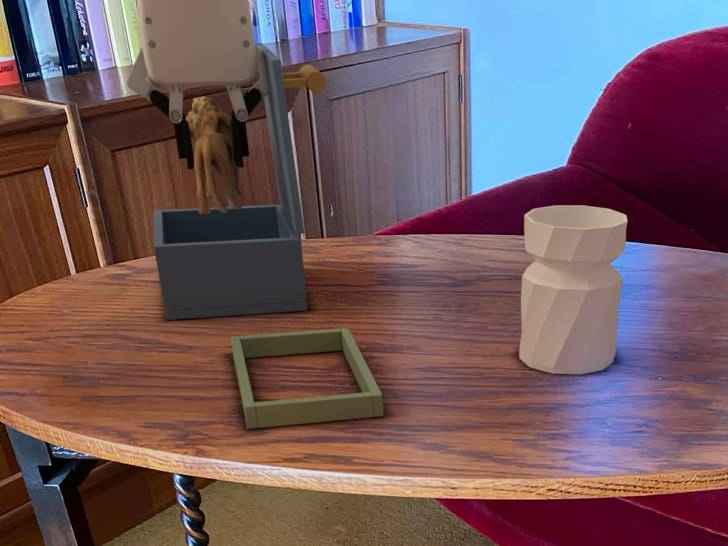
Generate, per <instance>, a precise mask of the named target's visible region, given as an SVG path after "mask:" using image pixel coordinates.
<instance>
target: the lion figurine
mask: <svg viewBox="0 0 728 546" xmlns="http://www.w3.org/2000/svg"><path fill="white" fill-rule="evenodd" d="M191 108H192V109H191V111H189V112H188V114H187V115H186V121H188V122H189V127H190V134H191V141H194V140H195V143H194V167H195V168H194V173H195V180H196V187H197V189H196V196H197V198H198V202H199V207H198V208H199V214H208V213H210V212H211V210H210V208H211V207H210V206H209V204H208V199H211V200H212V199H213V200H214V202H215V204H216V207H218V208H219V211H220V212H222V213H227V212H228V211H227V208H226V207H227V206H226V205H225V204H224V202H222V200H221V198H220V197H219V195H218V194H219V190H218V187H217V184H216V180H215V175H214V174H217V175H219V177H220V179H221V181H222V183H223V186H224V195H225V197H226V199H227V201H228V205H229V207H231V208H241V207H242V206H243V203H242V202H241V201H240V200H237V198H236V197H242V196H243V192H242V191H241V190H240V189H239V167H238V166H236V164H235V161H234V153H233V145H232V137H231V129H230V121H229V120H230V118H229V116H228V114H227V113H226V111H224V107H223V106H221V105H220V104H219V102H217V101H216V100H214V99H213V98H211V97H208V96H198V97H194V98H193V102H192V104H191Z"/></svg>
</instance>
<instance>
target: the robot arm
mask: <svg viewBox="0 0 728 546" xmlns="http://www.w3.org/2000/svg"><path fill="white" fill-rule="evenodd" d="M135 2H136V9H137V10H136V11H137V17H138V26H139V34H140V42H141V47H140V49H139V51H138V53H137V56H136V58H135V61H134V63H133V65H132V68H131V70H130V73H129V75H128V77H127V81H126V85H127V87H128V88H129V90H131V91H133V92H135V93H136V94H138V95H139V96H140V97H142V98H144V99H145V100H147V101H149V102H151V104H153V105H154V107H156V108H157V109H158V110H160V112H162V113H163V114H164V115H165V117H167V118H168V119H169V120H170V122H172V123H173V130H174V136H175V141H176V148H177V154H178V159H180V160H183V159H184V160H186V164H187V170H194V169H195V167H194V156H195V154H194V149H193V142H192V141H193V140H191V134H190V127H189V122H188V121H186V117H187V115H186V113H185V112H184V111H183V109H184V87H198V86H199V87H202V86H205V87H206V86H207V87H208V86H225V87H226V91H227V94H228V98H229V101H230V105H231V108H232V110H231V111H230V115H231V116H230V119H229V121H230V129H231V137H232V145H233V153H234V161H235V164H236V166H238V169H239V168H240V169H241V168H245V163H244V157H246V158H247V157H250V149H249V140H248V131H247V122H246V121H247V120H248V118H249V116H250V115H251V114H252V112H253V111H254V110H255V109H256V107H257V106H258V105H259V103H260V102H261V100H262V99H264V97H265V96H266V95H268V94H269V93H270V91H269V84H268V78H267V71H266V64H265V59H264V57H263V56H262V54H261V53H260V51H259V50H258V48H257V47H256V45H257V44H256V42H255V40H256V39H255V33H254V26H253V21H252V13H251V9H250V3H249V0H136V1H135ZM147 74H148V77H149V79H150V80H151V81H152V82H154V83H156V84H159V85H162V86H167V87H168V96H167V95H166V94H165V93H164V92H163V91H162V90H161V89H159V88H158V87H157V88H156V86H154V85H152V84H151V83H150V82H148V81H147V79H146V76H147ZM258 74H259V79H258V81H256V83H254V84H253V85H252V86H251V87H249V88H248V90H246V92H245V93H244V94H243V91H242V88H241V85H247V84H249V83H251V82H253V81H254V80H255V79H256V78H257V75H258Z"/></svg>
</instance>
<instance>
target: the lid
mask: <svg viewBox="0 0 728 546" xmlns="http://www.w3.org/2000/svg"><path fill="white" fill-rule="evenodd" d="M255 45H256V47H257V48H258V50H259V51H260V53H261V54H262V56H263V57H264V59H265V64H266V71H267V78H268V84H269V91H270V93H269V94H268V95H266V96H265V97H264V98H263V101H264V107H265V113H266V120H267V127H268V133H269V140H270V147H271V154H272V160H273V166H274V173H275V181H276V187H277V194H278V200H279V202H280V205H282V206H283V208H284V210H285V212H286V214H287V216H288V218H289V220H290V222H291V224H292V226H293V228H294V230H295V232H296V234H298V235H304V234H305V227H304V220H303V212H302V205H301V198H300V192H299V185H298V184H299V183H298V176H297V169H296V162H295V161H296V160H295V155H294V154H295V153H294V148H293V140H292V133H291V124H290V117H289V110H288V106H287V105H288V103H287V96H286V90H287V89H299V88H307V89H308V90H310V92H312V93H314V94H320V93H322V92H323V91H325V89H326V87H327V86H326V85H327V80H326V77H325V76H324V74H323V73H322V72H321V71H319V70H318V69H317V68H316V67H314V66H313V65H311V64H305V65H303V66H301V68H300V70H299V71H296V72H283V69H282V68H283V67H282V61H281V59H280V57H278V56H277V55H276V54H275V53H274V52H273V51H271V49H269V47H267V46H266V45H265V44H264V43H259V44H255Z"/></svg>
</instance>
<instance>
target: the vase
mask: <svg viewBox="0 0 728 546" xmlns="http://www.w3.org/2000/svg"><path fill="white" fill-rule="evenodd" d="M523 219H524V220H523V235H524V237H523V238H524V249H525V252H526V253H527V254H528V255H529V256H530V257H531V258H532V260H534V261H533V262H532V263H531V264H530V265H529V266H527V267H526V269H525V270H524V271H523V274H522V277H521V287H520V289H521V290H520V291H521V292H520V314H521V315H520V317H521V335H520V340H519V341H520V342H519V349H518V359H519V360H520V361H521V362H523V364H525V365H526V366H527V367H529V368H530V369H531V368H532V369H533V370H534V369H535V370H538V371H542V372H546V373H549V374H555V375H558V374H559V375H579V376H580V375H584V374H590V373H595V372H599V371H604V370H605V369H606V368H607V367H609V366H610V365H611V364H612V363H614V358H615V357H616V350H617V349H616V348H617V343H618V342H617V340H618V328H619V327H618V326H619V325H618V324H619V307H620V300H621V295H622V289H623V281H624V278H623V277H622V275H621V274H620V272H619V271H618V270H617V269H616V268H615V267H614V266H613V265H612V263H613V262H614V261H616V259H618V258H620V257H621V256H622V254H623V253H624V252H625V250H626V246H627V245H626V244H627V243H626V241H627V227H628V218H627V214H624V213H622V212H619V211H617V210H614V209H611V208H606V207H598V206H590V205H550V206H543V207H537V208H532V209H531V210H529V211H528V212H526V213H524V216H523Z"/></svg>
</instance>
